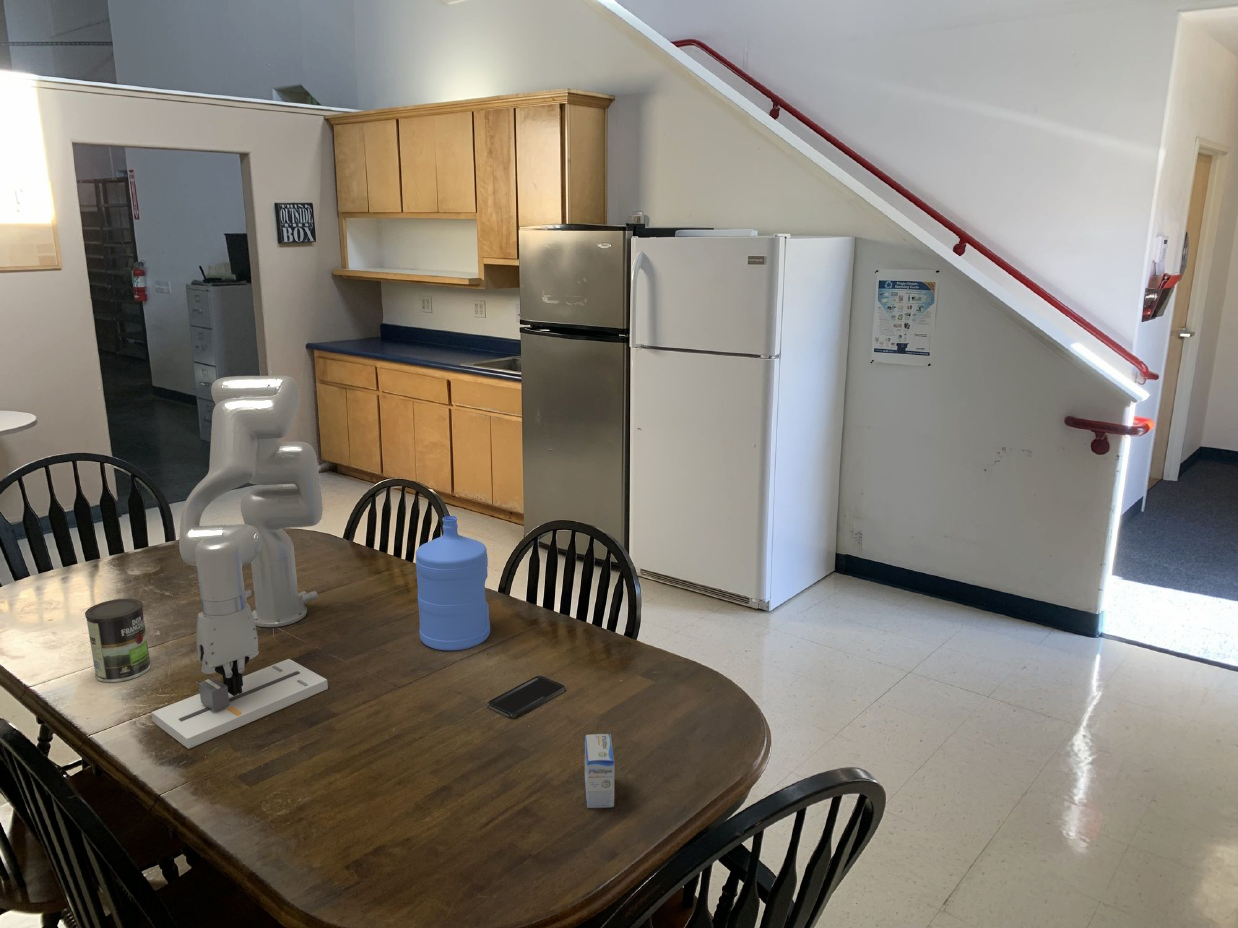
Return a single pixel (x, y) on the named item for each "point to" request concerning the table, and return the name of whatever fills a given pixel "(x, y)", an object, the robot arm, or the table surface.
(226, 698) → the fader knob
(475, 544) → the water jug
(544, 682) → the phone
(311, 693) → the fader board
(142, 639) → the coffee can
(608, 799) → the medicine box
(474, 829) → the table surface
